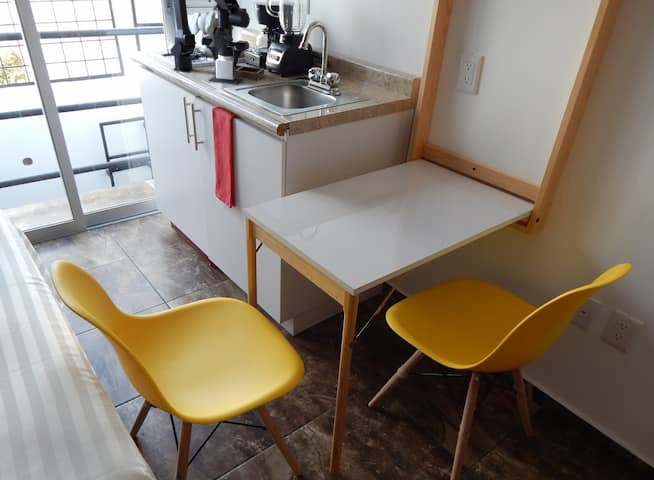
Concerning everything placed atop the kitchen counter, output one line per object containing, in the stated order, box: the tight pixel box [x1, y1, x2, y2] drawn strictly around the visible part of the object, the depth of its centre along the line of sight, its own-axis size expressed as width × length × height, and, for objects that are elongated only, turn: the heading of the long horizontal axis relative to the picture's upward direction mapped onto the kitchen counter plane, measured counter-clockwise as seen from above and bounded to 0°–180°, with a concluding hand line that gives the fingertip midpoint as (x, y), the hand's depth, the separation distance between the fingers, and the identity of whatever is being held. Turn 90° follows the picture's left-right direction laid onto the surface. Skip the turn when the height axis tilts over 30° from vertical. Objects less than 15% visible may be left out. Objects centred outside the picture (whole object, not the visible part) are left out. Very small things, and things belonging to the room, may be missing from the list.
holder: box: [214, 64, 265, 81], centre depth 213 cm, size 19×10×3 cm, turn 78°
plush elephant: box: [189, 10, 245, 58], centre depth 239 cm, size 27×22×21 cm
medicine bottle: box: [215, 46, 236, 80], centre depth 201 cm, size 7×7×12 cm
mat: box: [208, 75, 244, 85], centre depth 205 cm, size 12×9×1 cm
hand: (225, 65), depth 202 cm, fingers closed on medicine bottle, 7 cm apart
